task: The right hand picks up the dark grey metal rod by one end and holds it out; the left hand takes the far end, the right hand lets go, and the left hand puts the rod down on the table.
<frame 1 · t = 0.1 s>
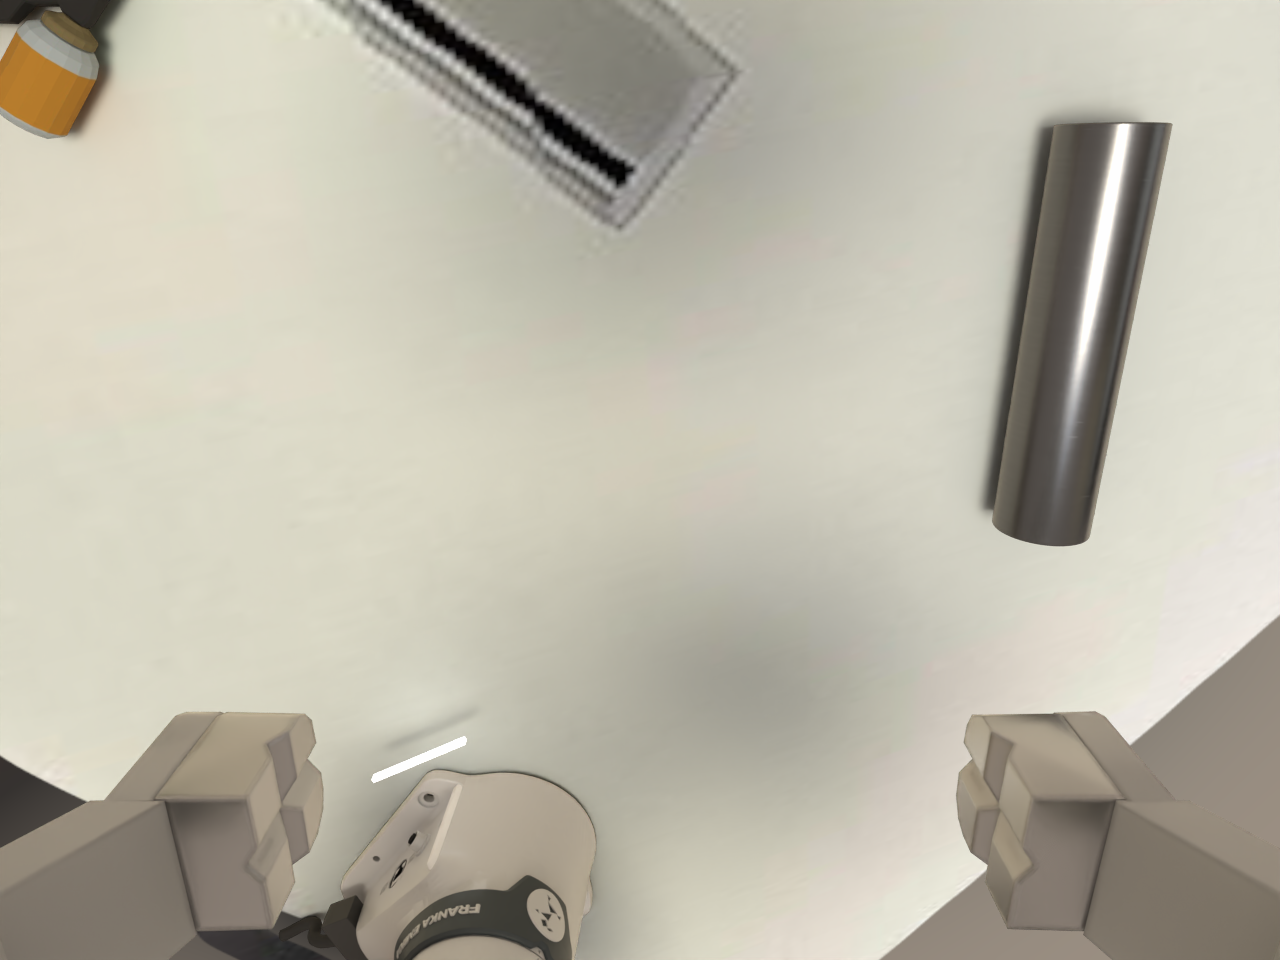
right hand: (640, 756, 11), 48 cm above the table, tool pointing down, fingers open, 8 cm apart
rod: (1051, 333, 57), on the table
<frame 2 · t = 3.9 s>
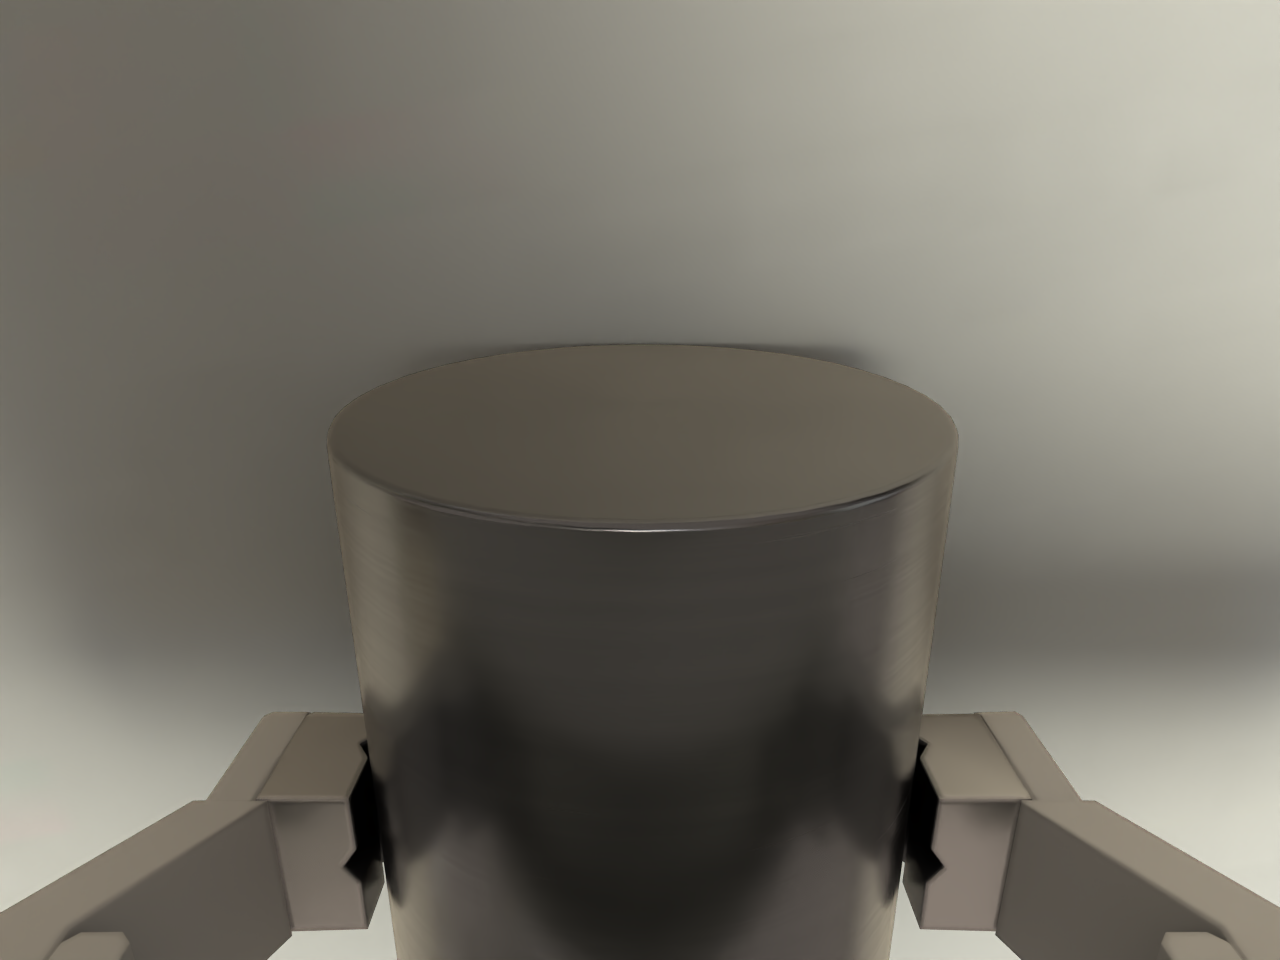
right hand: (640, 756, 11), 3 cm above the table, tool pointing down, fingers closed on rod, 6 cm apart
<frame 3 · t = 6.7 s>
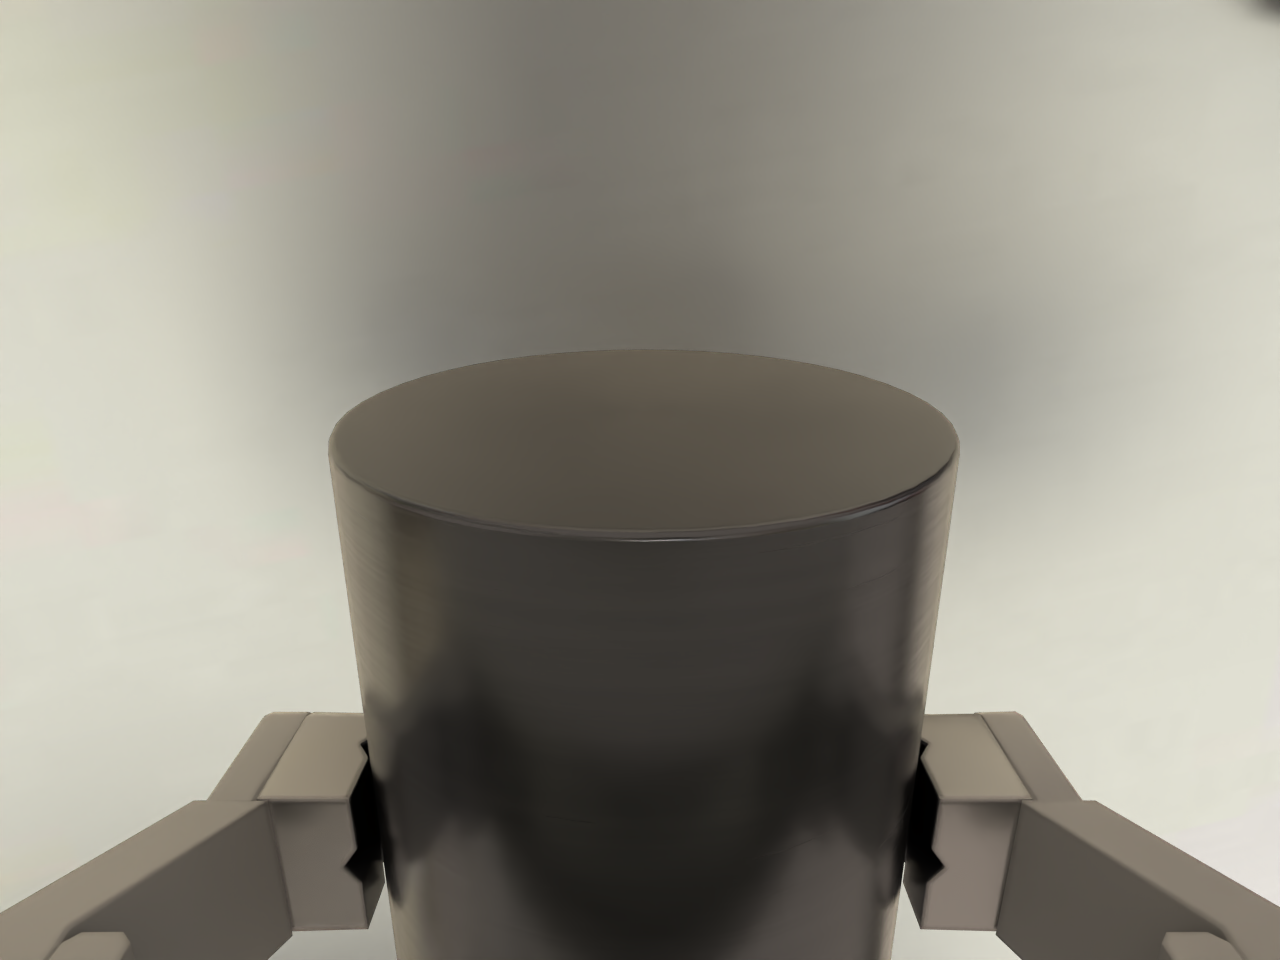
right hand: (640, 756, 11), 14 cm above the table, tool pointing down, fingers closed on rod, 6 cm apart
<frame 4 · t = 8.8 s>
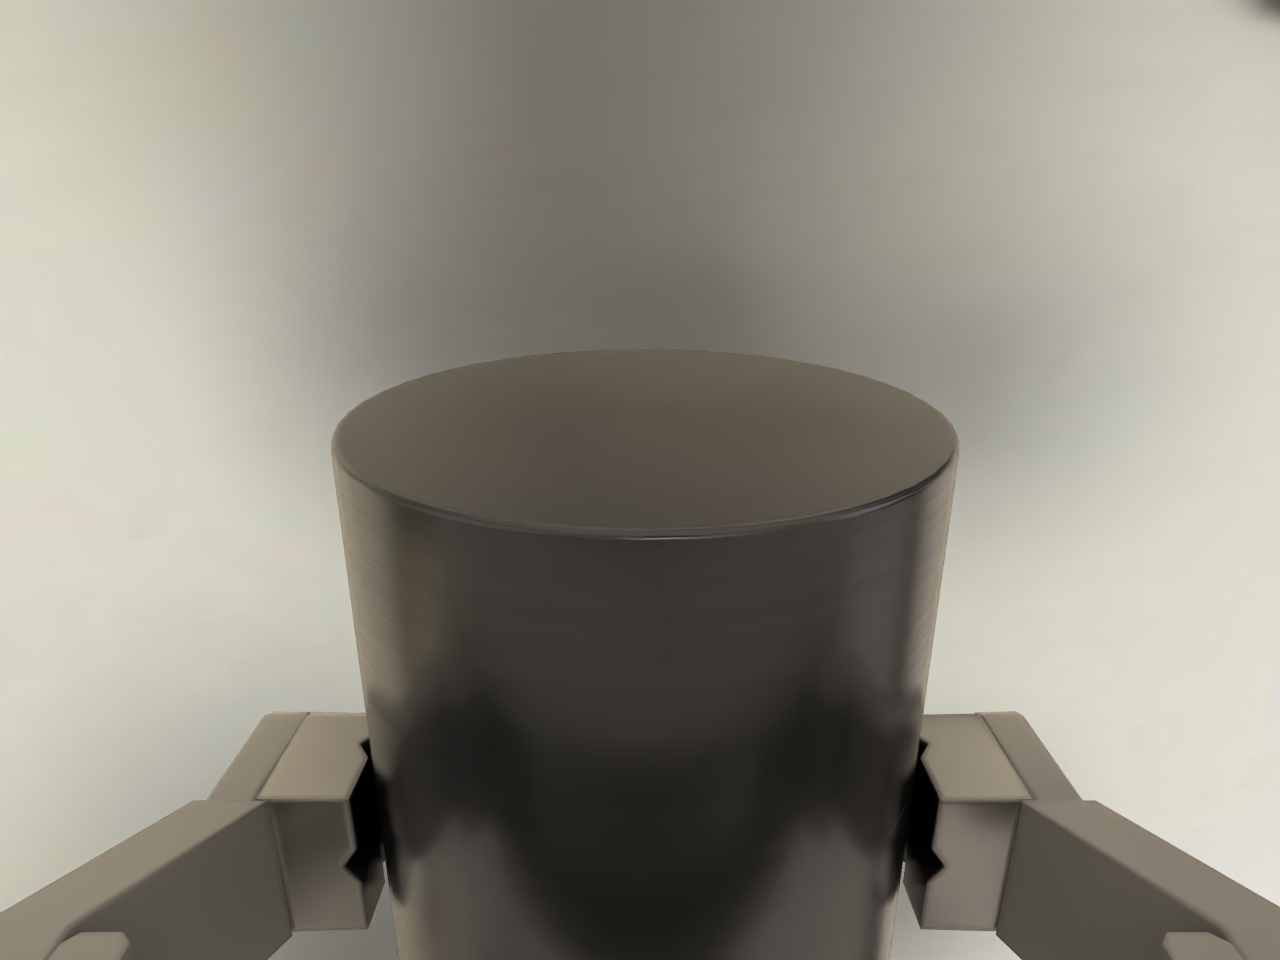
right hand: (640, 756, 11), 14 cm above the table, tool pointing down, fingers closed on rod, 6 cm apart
when the right hand's fingers open (14 cm above the table, at t = 10.0 s): rod moves 1 cm, held by the left hand.
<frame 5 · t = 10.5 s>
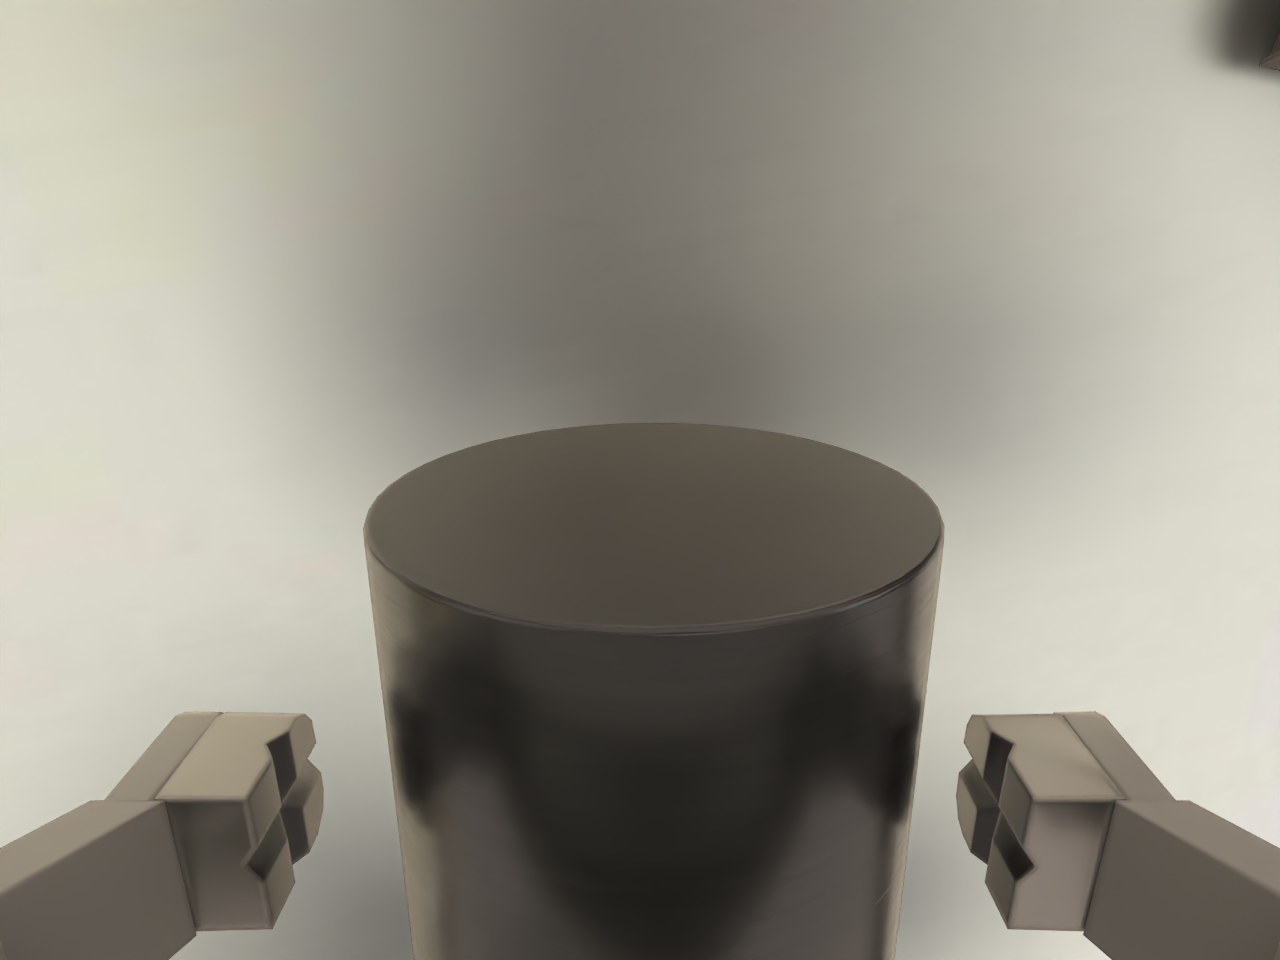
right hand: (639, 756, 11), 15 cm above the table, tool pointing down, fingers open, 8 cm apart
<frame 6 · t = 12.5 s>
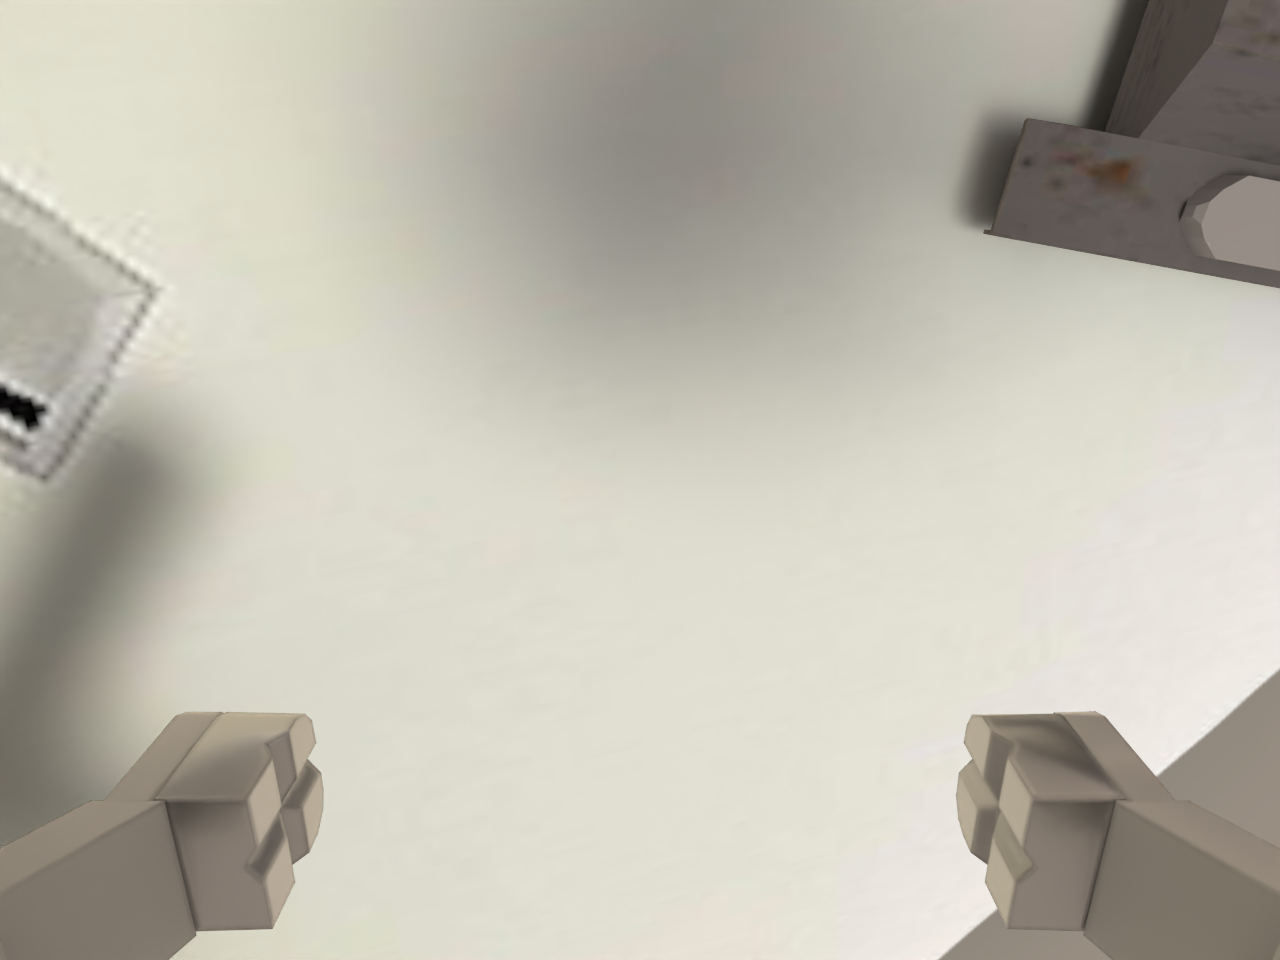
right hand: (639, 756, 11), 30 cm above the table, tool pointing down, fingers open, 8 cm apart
when the left hand's fingers open (4 cm above the table, at t = 16.3 s): rod drops 2 cm, on the table.
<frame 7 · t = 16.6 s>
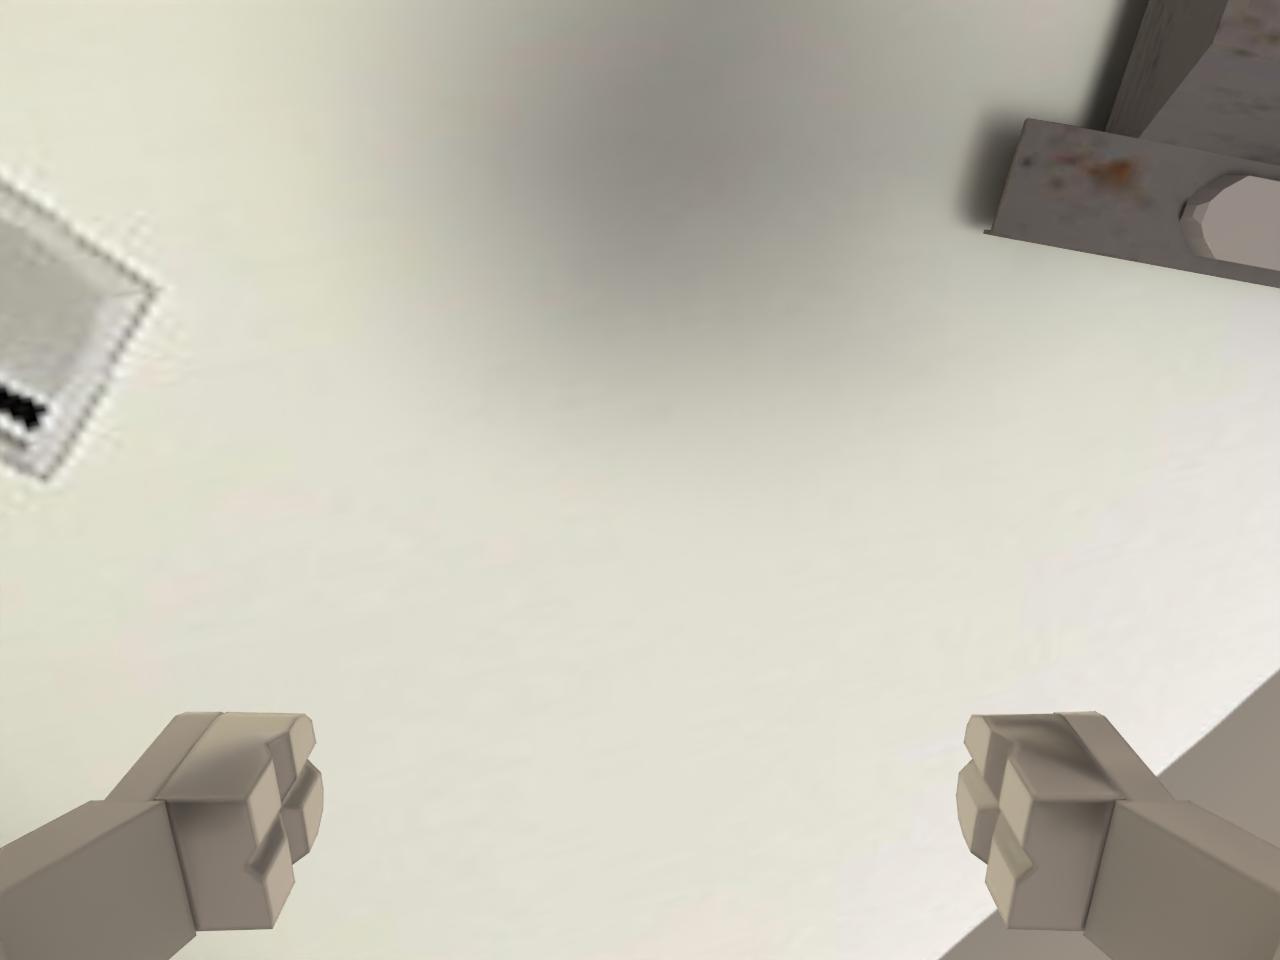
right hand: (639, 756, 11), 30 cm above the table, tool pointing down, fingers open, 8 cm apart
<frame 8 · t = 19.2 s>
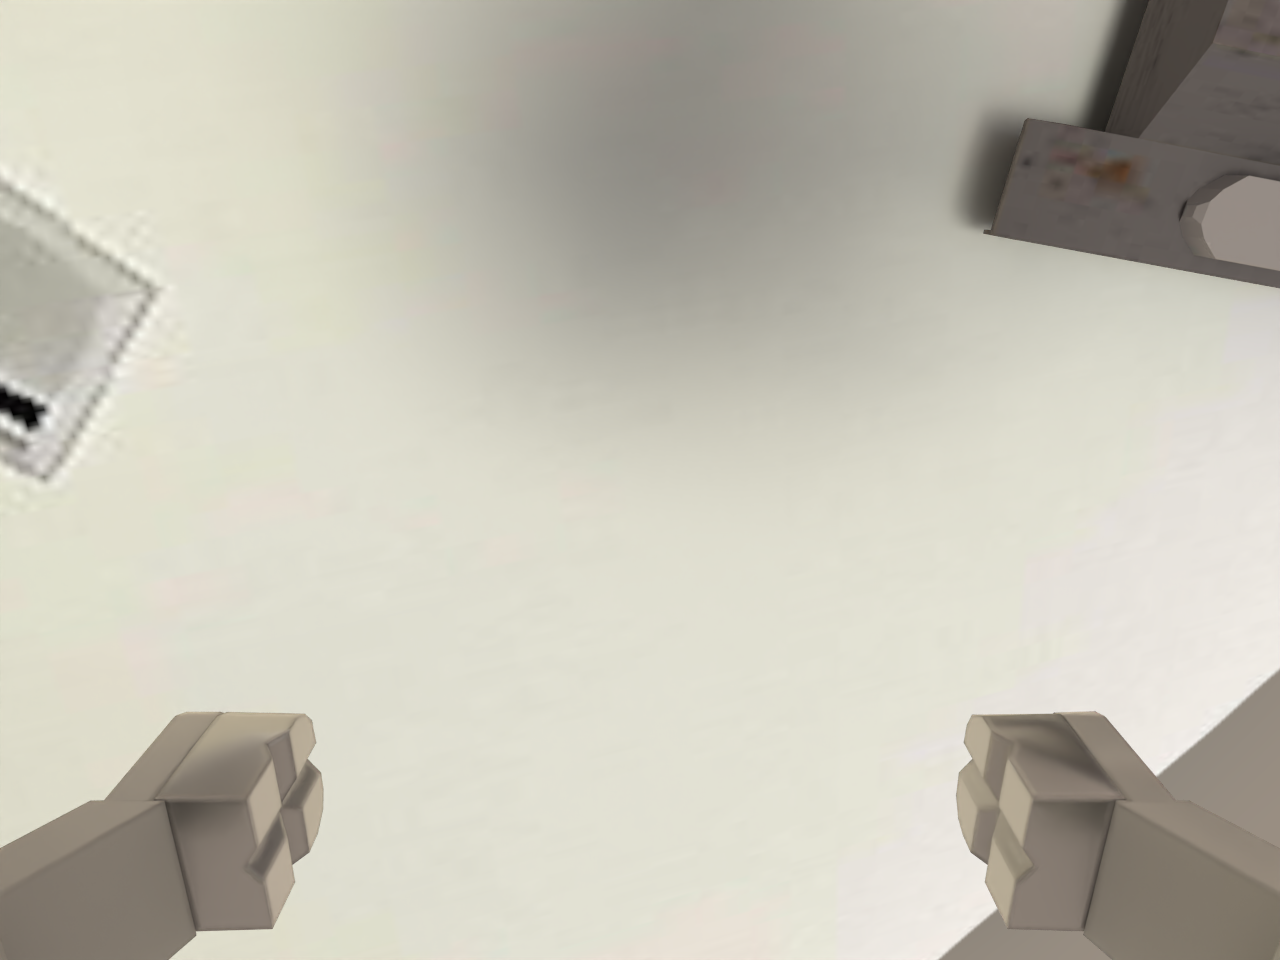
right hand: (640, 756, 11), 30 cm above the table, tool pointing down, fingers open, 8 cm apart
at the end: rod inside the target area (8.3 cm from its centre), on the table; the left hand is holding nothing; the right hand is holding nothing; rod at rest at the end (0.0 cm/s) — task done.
